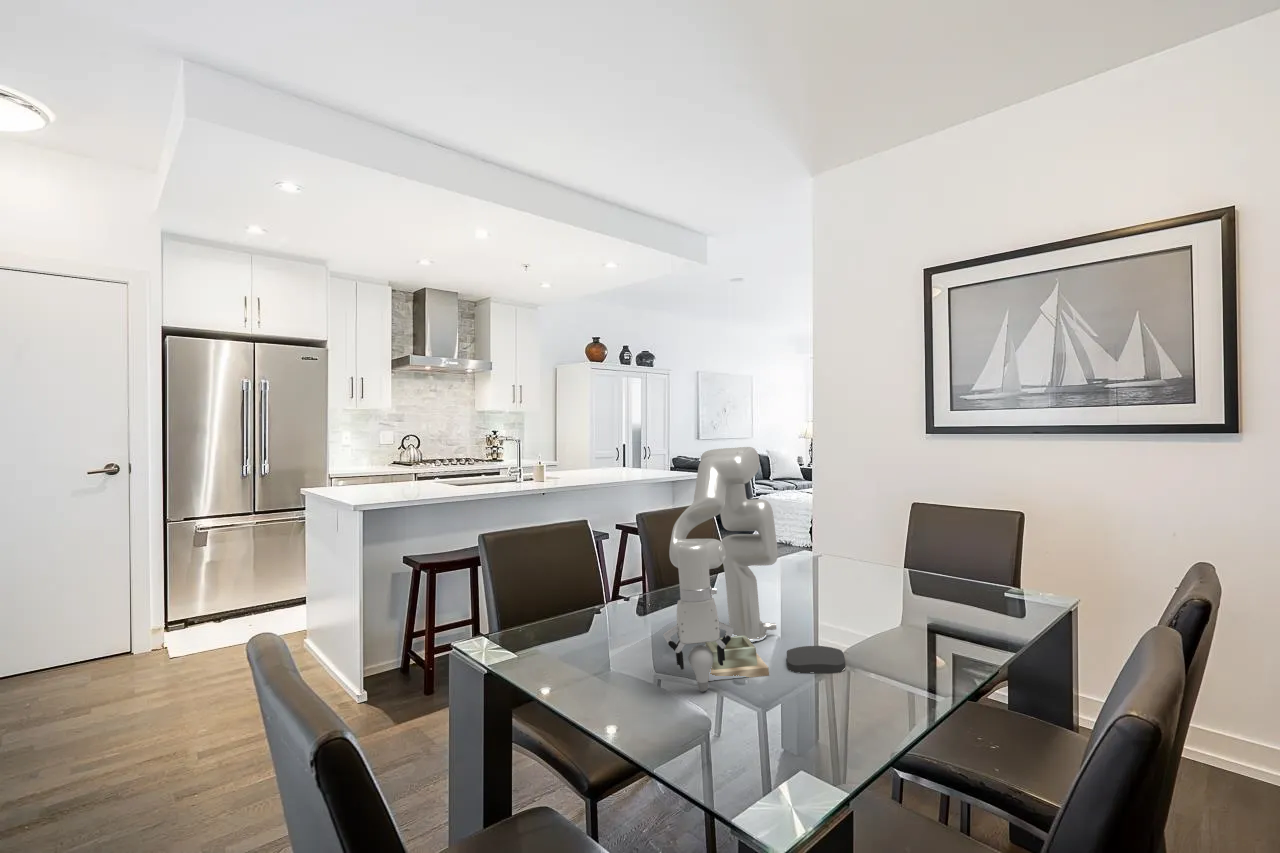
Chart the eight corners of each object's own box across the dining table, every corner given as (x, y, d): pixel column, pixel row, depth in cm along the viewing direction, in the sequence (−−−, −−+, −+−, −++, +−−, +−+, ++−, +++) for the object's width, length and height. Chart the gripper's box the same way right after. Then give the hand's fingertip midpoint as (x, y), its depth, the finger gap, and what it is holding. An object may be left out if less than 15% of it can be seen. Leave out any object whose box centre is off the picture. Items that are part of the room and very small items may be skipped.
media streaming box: (848, 674, 155) (847, 662, 156) (788, 675, 158) (787, 663, 158) (841, 655, 170) (840, 644, 170) (786, 656, 173) (785, 645, 173)
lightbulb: (696, 698, 147) (692, 651, 148) (687, 689, 153) (684, 644, 153) (720, 693, 149) (716, 647, 149) (710, 685, 155) (707, 640, 155)
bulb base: (753, 655, 174) (751, 632, 174) (769, 675, 158) (766, 649, 158) (697, 661, 173) (695, 637, 173) (707, 681, 157) (705, 655, 157)
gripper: (727, 588, 156) (732, 657, 155) (659, 594, 155) (664, 664, 154) (733, 594, 149) (739, 667, 148) (662, 601, 147) (667, 674, 146)
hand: (701, 665), depth 151 cm, fingers open, 9 cm apart
